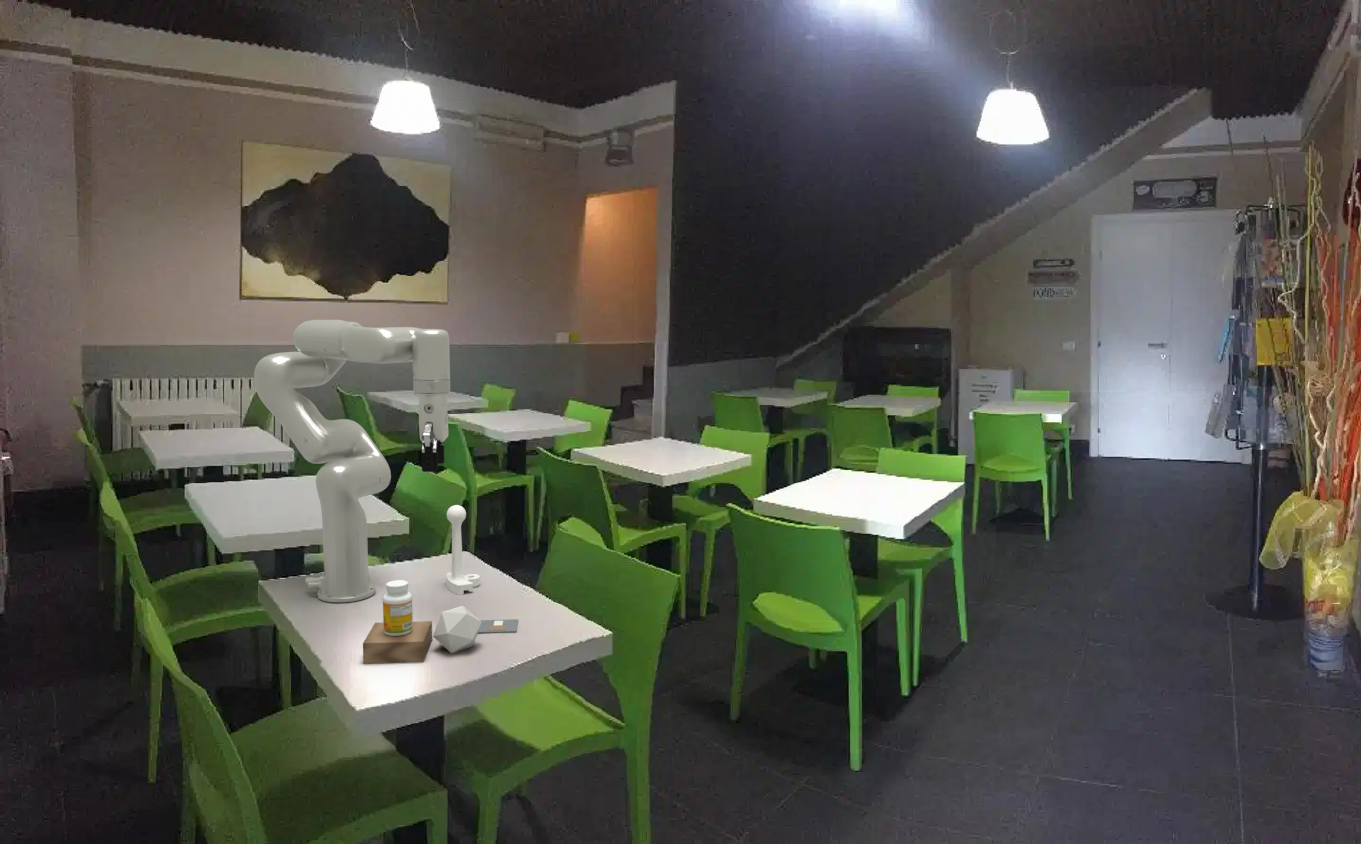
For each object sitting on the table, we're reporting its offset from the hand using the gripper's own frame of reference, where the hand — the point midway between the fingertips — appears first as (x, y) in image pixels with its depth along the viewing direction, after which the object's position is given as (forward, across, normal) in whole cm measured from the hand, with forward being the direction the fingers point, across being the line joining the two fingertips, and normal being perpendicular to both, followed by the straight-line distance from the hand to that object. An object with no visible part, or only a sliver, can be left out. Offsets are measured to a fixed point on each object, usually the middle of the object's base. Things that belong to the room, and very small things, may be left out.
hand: (433, 467), depth 192 cm
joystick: (+32, +18, -4) cm, 37 cm away
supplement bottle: (+28, -22, +4) cm, 36 cm away
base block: (+32, -22, +4) cm, 39 cm away
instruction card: (+32, -10, -14) cm, 37 cm away
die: (+32, -21, -7) cm, 39 cm away
